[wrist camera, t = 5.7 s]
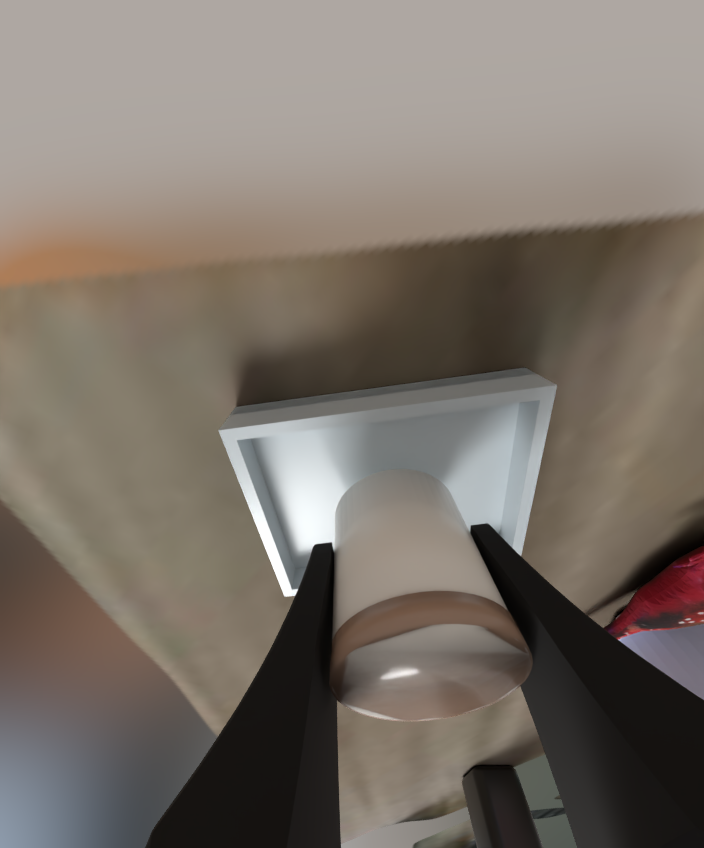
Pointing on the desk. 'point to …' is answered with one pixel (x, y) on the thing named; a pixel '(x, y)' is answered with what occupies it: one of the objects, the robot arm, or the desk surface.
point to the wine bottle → (499, 809)
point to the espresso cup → (416, 606)
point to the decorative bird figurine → (666, 599)
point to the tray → (390, 454)
